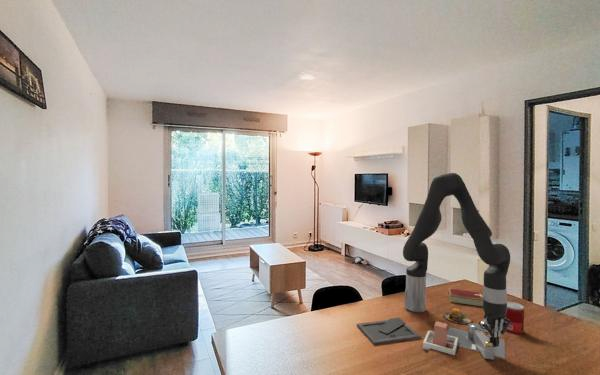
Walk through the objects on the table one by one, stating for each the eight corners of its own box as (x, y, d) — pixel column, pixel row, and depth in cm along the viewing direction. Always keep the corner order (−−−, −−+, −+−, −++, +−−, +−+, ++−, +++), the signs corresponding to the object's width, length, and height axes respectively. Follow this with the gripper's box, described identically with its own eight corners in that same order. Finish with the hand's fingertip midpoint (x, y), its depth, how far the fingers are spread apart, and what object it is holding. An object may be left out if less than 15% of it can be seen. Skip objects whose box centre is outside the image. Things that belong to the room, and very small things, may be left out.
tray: (422, 348, 119) (423, 342, 119) (428, 336, 129) (428, 330, 128) (454, 357, 113) (454, 350, 113) (458, 344, 123) (458, 337, 123)
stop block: (433, 345, 120) (434, 325, 120) (435, 341, 124) (436, 321, 124) (445, 348, 118) (445, 328, 118) (446, 344, 122) (447, 323, 121)
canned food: (527, 335, 130) (527, 309, 129) (505, 333, 131) (506, 307, 131) (518, 326, 137) (518, 302, 137) (498, 325, 139) (498, 300, 138)
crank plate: (444, 344, 122) (444, 342, 122) (449, 329, 135) (449, 326, 135) (505, 361, 111) (505, 358, 111) (504, 342, 124) (504, 339, 124)
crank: (466, 334, 127) (466, 321, 127) (479, 336, 126) (479, 322, 126) (481, 358, 110) (482, 343, 110) (497, 360, 109) (497, 344, 109)
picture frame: (399, 321, 143) (356, 327, 137) (399, 317, 143) (356, 322, 137) (420, 339, 127) (374, 346, 122) (421, 334, 127) (374, 341, 122)
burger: (477, 323, 141) (477, 307, 141) (462, 329, 135) (462, 312, 135) (452, 313, 151) (453, 298, 151) (437, 319, 145) (437, 303, 145)
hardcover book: (448, 294, 176) (448, 287, 175) (491, 300, 168) (491, 292, 167) (449, 302, 164) (449, 294, 164) (496, 309, 156) (496, 301, 156)
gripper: (489, 305, 108) (489, 354, 109) (518, 300, 112) (518, 347, 113) (471, 297, 115) (471, 343, 116) (499, 293, 119) (499, 337, 120)
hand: (494, 345), depth 114 cm, fingers closed
